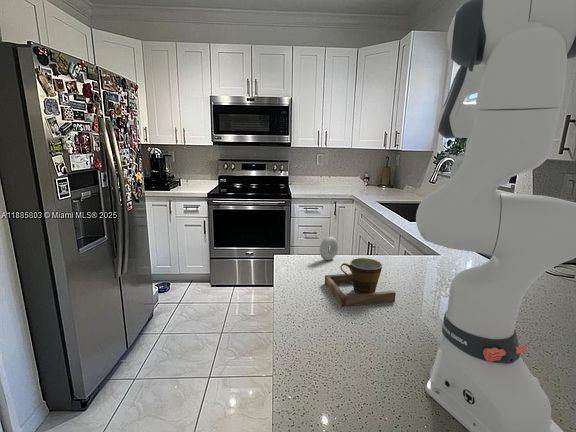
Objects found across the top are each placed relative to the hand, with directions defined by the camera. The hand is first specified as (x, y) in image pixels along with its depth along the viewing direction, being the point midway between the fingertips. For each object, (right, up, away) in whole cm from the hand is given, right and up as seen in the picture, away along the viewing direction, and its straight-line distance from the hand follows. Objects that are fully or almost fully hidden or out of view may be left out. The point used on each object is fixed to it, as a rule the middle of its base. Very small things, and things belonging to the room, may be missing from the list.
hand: (473, 197), depth 99 cm
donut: (-41, -24, +33) cm, 58 cm away
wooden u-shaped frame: (-35, -31, +5) cm, 46 cm away
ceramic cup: (-35, -31, +5) cm, 47 cm away
